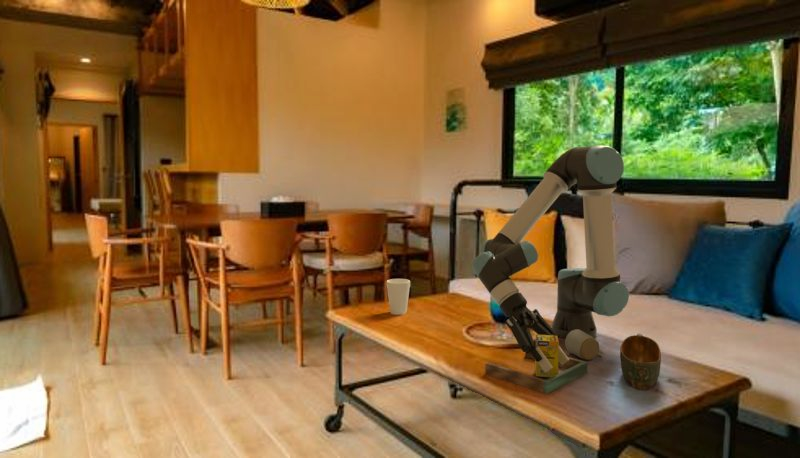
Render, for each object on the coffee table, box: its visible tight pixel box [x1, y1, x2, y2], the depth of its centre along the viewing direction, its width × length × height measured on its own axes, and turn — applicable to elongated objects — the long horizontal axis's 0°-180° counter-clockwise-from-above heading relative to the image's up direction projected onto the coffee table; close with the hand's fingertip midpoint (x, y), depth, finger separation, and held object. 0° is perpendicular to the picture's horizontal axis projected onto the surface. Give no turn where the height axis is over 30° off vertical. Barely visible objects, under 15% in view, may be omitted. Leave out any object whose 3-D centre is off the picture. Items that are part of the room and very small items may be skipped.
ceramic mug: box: [564, 329, 604, 361], centre depth 168 cm, size 11×8×8 cm
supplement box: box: [534, 334, 560, 380], centre depth 152 cm, size 6×6×11 cm
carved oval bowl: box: [619, 333, 662, 391], centre depth 150 cm, size 13×20×10 cm, turn 131°
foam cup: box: [386, 278, 411, 316], centre depth 220 cm, size 10×9×13 cm
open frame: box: [484, 352, 589, 395], centre depth 154 cm, size 20×21×3 cm
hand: (557, 366), depth 150 cm, fingers closed on supplement box, 8 cm apart
